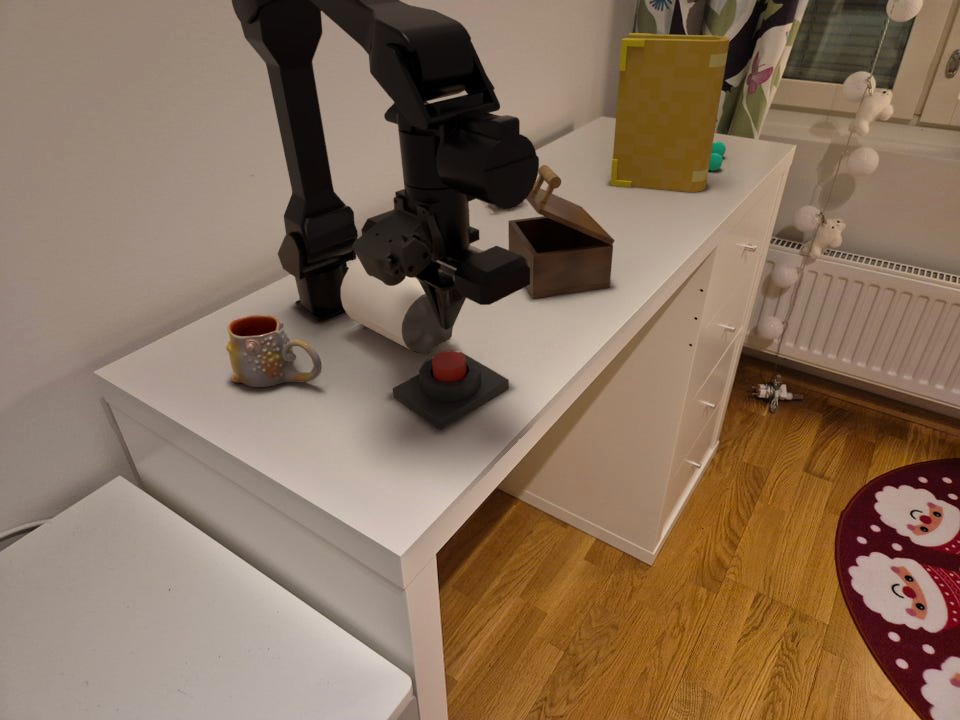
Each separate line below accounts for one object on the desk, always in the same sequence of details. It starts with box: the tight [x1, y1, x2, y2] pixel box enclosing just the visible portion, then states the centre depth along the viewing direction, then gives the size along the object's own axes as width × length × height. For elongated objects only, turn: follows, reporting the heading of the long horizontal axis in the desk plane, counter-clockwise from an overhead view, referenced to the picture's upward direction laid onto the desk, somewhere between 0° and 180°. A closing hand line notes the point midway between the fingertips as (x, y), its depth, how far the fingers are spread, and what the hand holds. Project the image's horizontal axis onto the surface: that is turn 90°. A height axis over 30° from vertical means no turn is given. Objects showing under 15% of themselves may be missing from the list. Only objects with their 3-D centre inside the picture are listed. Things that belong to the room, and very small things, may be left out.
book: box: [609, 32, 731, 193], centre depth 117 cm, size 17×7×25 cm, turn 68°
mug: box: [225, 314, 323, 388], centre depth 74 cm, size 12×7×7 cm, turn 62°
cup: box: [341, 257, 454, 354], centre depth 79 cm, size 10×10×13 cm
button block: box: [392, 351, 510, 431], centre depth 72 cm, size 10×8×3 cm
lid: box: [525, 164, 615, 245], centre depth 89 cm, size 12×13×4 cm
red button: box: [432, 350, 466, 382], centre depth 71 cm, size 4×4×2 cm
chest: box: [508, 215, 614, 299], centre depth 93 cm, size 11×13×6 cm
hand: (446, 327), depth 68 cm, fingers closed
